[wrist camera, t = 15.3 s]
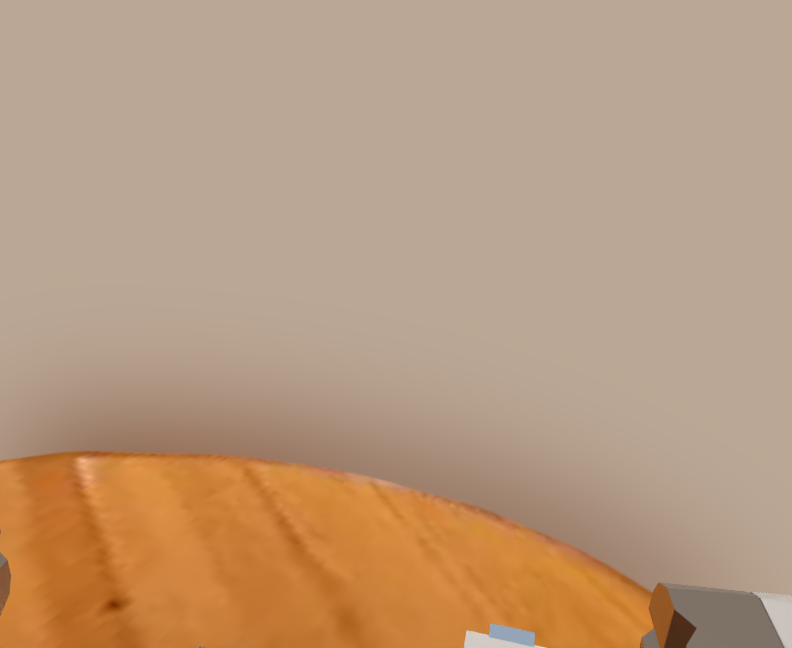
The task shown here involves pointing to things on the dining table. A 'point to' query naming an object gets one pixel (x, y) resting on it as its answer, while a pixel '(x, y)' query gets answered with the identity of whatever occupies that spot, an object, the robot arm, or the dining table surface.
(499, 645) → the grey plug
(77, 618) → the dining table surface
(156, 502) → the dining table surface
